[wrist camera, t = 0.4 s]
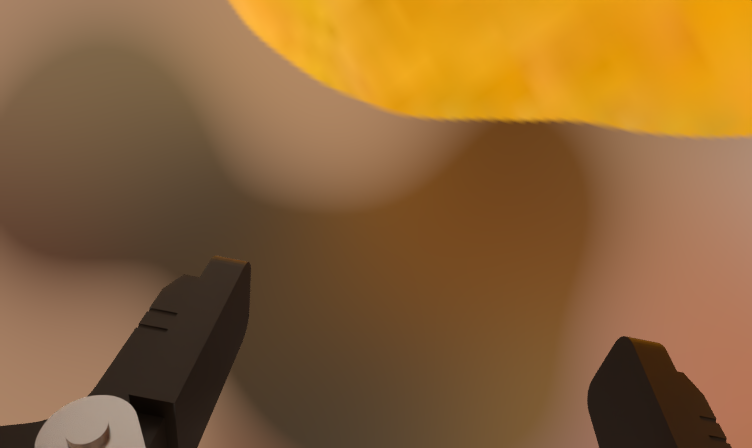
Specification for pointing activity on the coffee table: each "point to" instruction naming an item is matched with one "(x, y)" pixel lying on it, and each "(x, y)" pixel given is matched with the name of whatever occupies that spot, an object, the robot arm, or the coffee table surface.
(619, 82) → the coffee table surface
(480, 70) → the coffee table surface
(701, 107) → the coffee table surface
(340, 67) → the coffee table surface
